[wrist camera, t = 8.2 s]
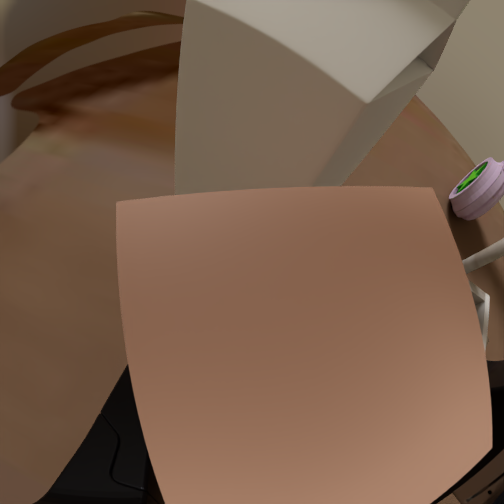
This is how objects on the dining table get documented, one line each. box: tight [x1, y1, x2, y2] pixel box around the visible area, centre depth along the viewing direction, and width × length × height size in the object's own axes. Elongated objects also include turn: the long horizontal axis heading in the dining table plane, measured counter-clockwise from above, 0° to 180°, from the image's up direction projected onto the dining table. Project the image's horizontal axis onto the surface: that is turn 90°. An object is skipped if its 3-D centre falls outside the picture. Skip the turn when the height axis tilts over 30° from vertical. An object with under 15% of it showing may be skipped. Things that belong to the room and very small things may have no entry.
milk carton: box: [175, 0, 470, 195], centre depth 13 cm, size 7×7×19 cm
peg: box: [116, 186, 492, 504], centre depth 8 cm, size 4×4×12 cm
